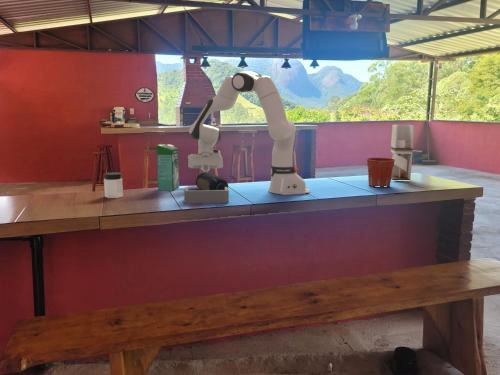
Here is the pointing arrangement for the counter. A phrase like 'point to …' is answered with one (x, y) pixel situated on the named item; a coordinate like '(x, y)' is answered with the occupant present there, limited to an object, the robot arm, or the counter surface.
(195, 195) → the tray
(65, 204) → the counter surface
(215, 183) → the portable speaker
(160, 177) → the milk carton
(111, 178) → the jar
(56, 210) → the counter surface
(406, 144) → the white two-tier box
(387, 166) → the flower pot
